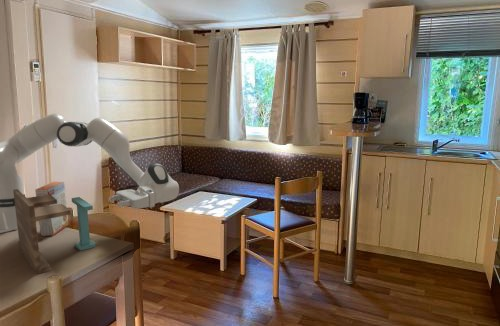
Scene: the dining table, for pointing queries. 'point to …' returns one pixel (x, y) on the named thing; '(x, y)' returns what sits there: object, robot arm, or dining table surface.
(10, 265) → the dining table surface
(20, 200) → the wall shelf
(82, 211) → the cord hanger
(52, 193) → the cracker box
